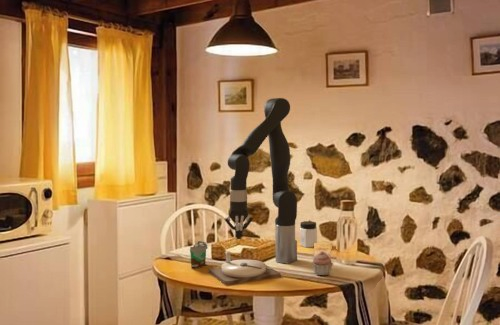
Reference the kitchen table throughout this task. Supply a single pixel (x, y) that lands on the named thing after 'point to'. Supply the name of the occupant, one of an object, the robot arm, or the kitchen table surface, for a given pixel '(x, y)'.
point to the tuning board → (234, 280)
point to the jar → (308, 234)
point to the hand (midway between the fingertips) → (238, 238)
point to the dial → (243, 267)
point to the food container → (198, 255)
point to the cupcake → (322, 264)
